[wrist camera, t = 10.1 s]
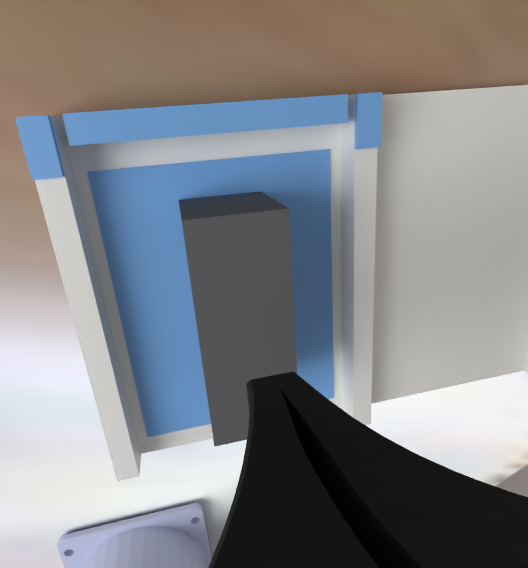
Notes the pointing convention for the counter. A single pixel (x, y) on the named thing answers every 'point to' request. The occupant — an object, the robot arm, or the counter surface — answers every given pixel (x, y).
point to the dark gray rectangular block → (239, 299)
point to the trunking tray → (293, 243)
